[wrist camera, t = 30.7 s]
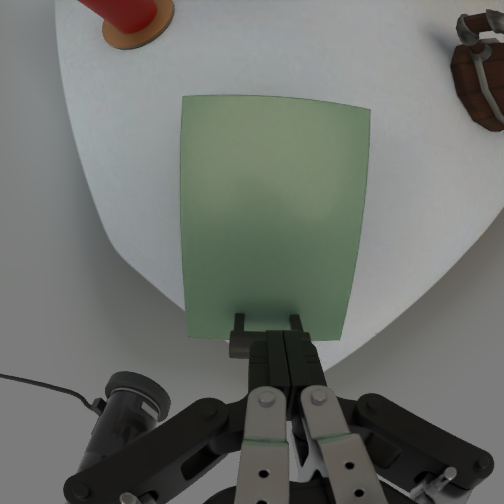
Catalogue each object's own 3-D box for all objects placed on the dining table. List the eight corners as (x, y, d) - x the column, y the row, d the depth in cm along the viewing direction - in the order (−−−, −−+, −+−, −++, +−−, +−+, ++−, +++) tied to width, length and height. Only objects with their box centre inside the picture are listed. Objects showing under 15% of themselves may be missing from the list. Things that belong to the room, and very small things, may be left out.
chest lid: (337, 334, 22) (354, 375, 17) (189, 331, 22) (176, 373, 17) (366, 110, 16) (401, 99, 11) (185, 98, 16) (162, 79, 11)
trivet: (119, 63, 21) (115, 61, 20) (97, 20, 18) (93, 17, 18) (186, 21, 19) (185, 18, 19) (158, -19, 17) (156, -23, 16)
